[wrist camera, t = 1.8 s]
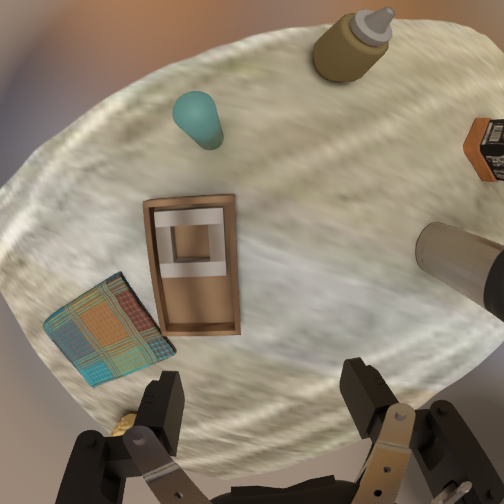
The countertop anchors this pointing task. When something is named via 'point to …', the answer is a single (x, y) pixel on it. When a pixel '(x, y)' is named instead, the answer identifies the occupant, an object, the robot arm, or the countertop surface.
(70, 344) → the dish towel
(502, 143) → the whiskey bottle
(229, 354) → the countertop surface
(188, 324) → the tray
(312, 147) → the countertop surface
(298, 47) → the countertop surface
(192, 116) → the dowel
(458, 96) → the countertop surface
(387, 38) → the squeeze bottle
